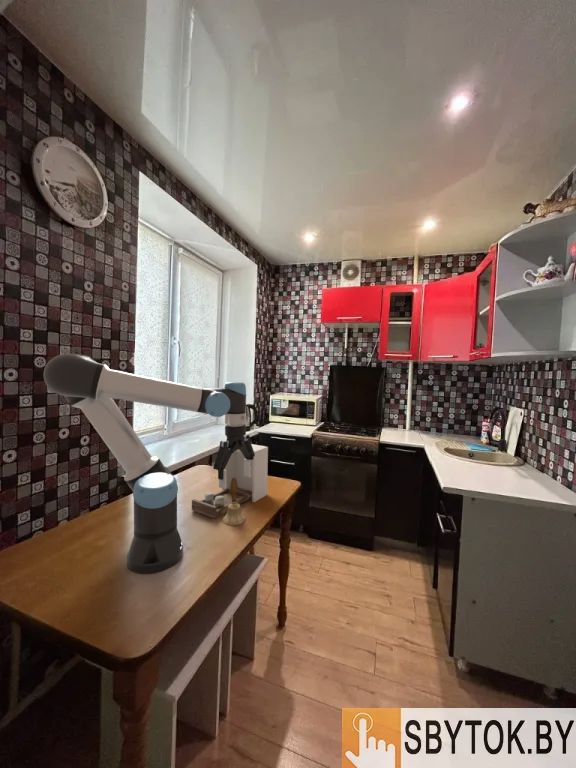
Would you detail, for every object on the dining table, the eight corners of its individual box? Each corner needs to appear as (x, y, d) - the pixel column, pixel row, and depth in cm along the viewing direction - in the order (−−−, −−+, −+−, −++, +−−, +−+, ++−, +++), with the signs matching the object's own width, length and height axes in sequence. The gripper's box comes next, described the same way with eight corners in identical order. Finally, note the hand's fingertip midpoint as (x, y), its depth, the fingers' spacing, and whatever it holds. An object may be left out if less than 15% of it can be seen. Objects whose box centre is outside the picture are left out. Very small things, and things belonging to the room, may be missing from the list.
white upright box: (220, 521, 114) (221, 463, 113) (186, 509, 123) (187, 455, 122) (267, 494, 139) (267, 446, 138) (235, 486, 148) (236, 441, 147)
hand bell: (233, 528, 110) (234, 483, 109) (217, 520, 115) (218, 477, 114) (250, 519, 116) (250, 477, 116) (234, 512, 121) (235, 472, 121)
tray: (214, 518, 115) (214, 505, 115) (191, 510, 121) (191, 497, 121) (248, 499, 132) (248, 487, 132) (226, 493, 139) (227, 482, 138)
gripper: (219, 431, 101) (219, 495, 102) (263, 420, 123) (263, 473, 124) (202, 429, 105) (202, 490, 106) (248, 418, 126) (248, 470, 128)
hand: (235, 481), depth 115 cm, fingers open, 13 cm apart
